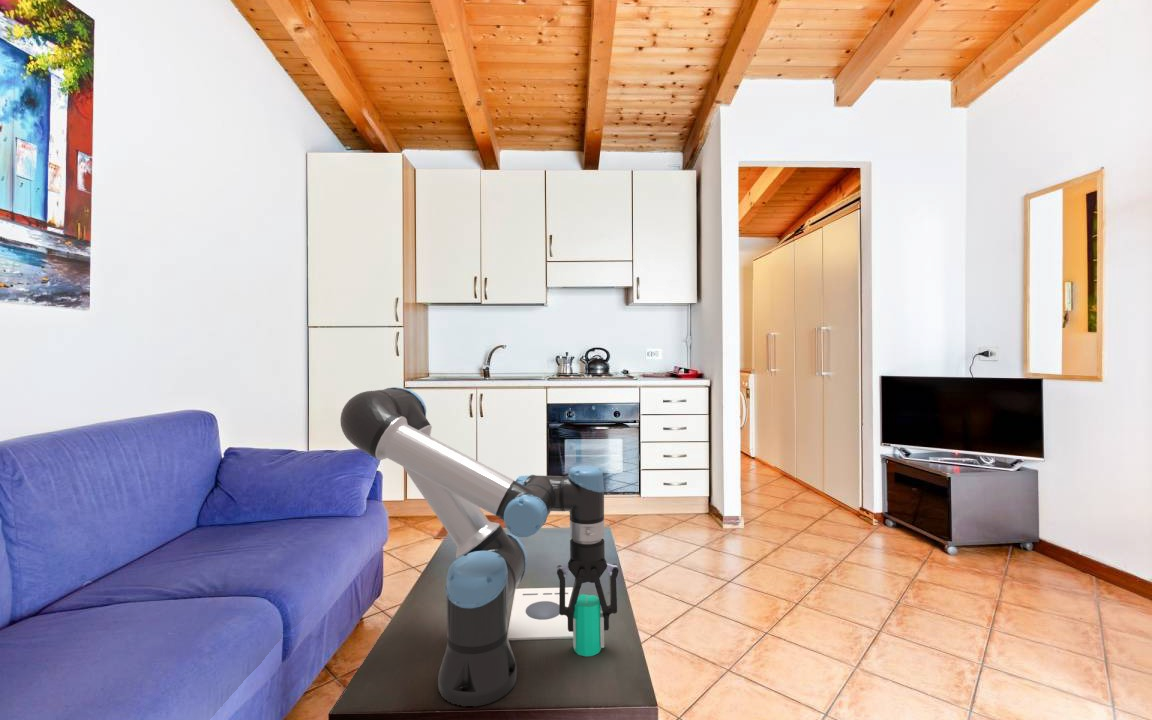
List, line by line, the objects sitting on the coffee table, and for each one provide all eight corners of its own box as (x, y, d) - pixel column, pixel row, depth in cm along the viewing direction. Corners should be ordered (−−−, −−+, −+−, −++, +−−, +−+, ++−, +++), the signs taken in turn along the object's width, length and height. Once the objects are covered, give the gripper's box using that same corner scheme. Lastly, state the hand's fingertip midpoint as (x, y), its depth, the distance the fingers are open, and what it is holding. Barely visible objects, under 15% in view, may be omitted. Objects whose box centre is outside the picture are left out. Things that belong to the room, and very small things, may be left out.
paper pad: (577, 638, 113) (577, 635, 113) (506, 640, 112) (506, 637, 112) (574, 589, 137) (574, 587, 137) (515, 590, 136) (515, 588, 136)
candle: (598, 657, 105) (598, 601, 105) (570, 654, 107) (570, 598, 106) (602, 641, 111) (602, 588, 111) (576, 639, 112) (575, 586, 112)
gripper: (544, 545, 105) (546, 656, 105) (631, 543, 105) (632, 653, 105) (545, 533, 112) (547, 636, 112) (626, 531, 113) (627, 633, 113)
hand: (588, 644), depth 109 cm, fingers closed on candle, 5 cm apart
